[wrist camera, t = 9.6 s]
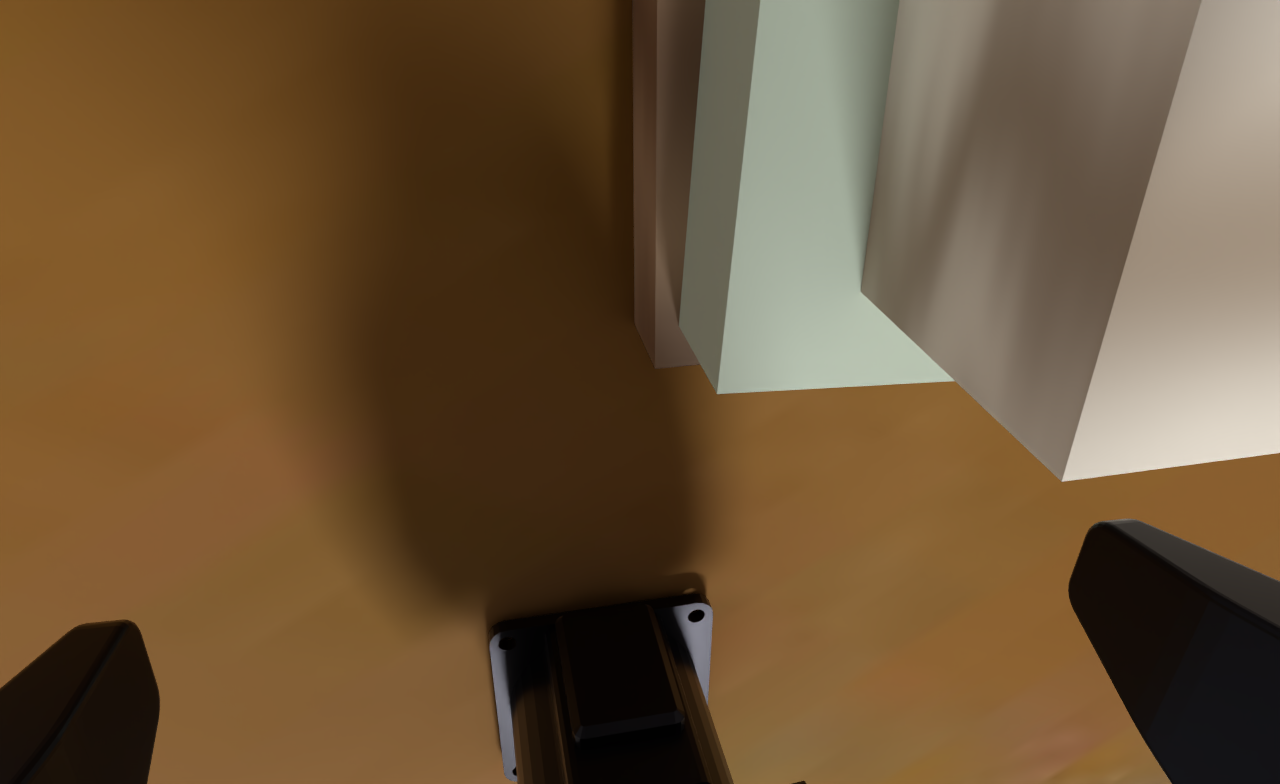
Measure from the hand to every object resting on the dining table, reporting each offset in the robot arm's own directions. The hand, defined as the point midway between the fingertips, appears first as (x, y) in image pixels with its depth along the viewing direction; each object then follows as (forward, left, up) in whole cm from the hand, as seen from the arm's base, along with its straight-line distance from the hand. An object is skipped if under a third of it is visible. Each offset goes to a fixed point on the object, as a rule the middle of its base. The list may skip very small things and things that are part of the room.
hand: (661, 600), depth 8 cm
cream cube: (+2, -8, -8) cm, 12 cm away
